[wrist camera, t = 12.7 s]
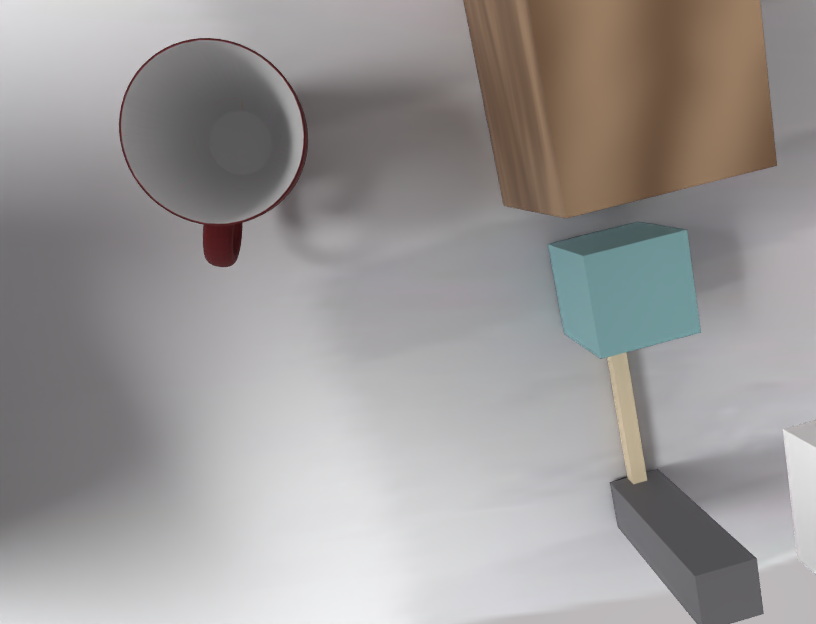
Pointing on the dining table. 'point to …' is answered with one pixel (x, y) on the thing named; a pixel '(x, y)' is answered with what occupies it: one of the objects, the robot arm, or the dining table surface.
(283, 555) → the dining table surface
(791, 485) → the robot arm
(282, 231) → the dining table surface
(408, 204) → the dining table surface
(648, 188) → the shelf
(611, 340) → the double-ended block stick
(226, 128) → the mug
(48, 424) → the dining table surface
